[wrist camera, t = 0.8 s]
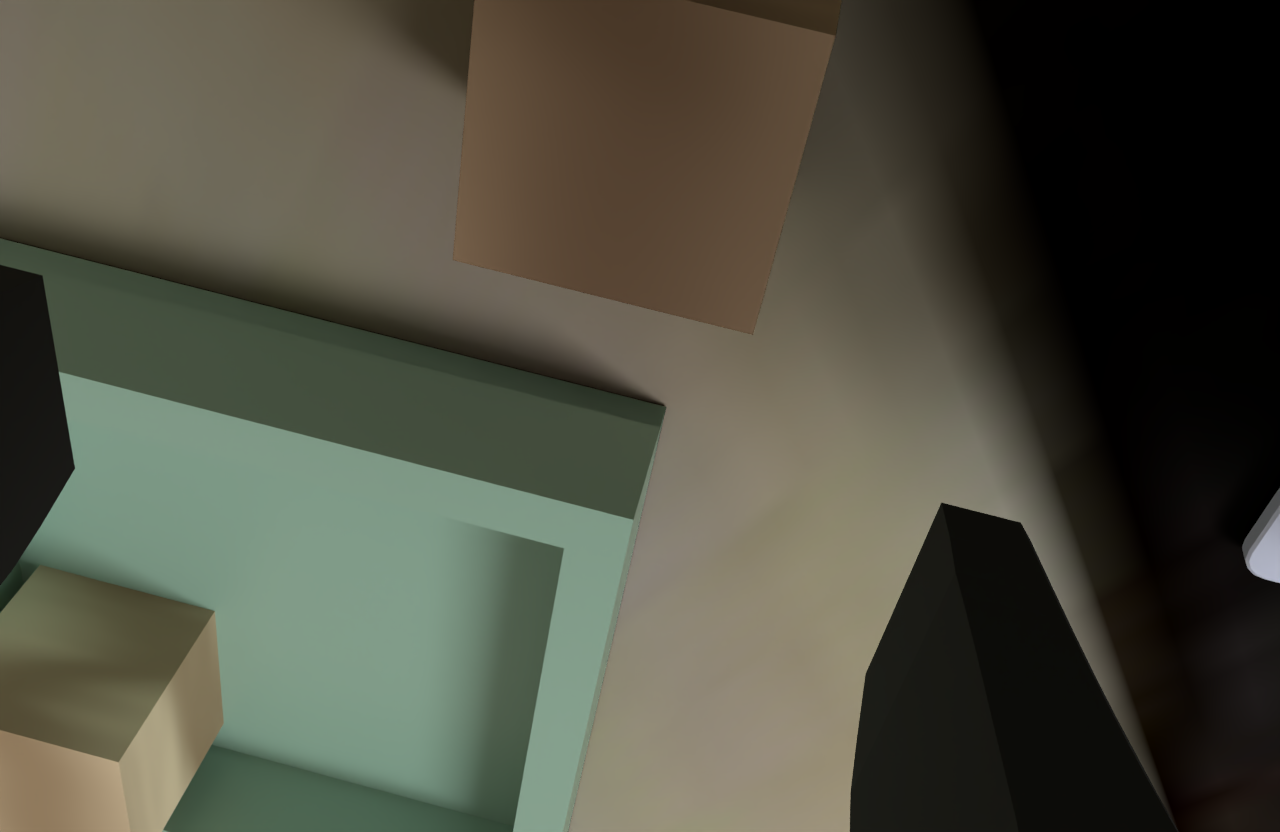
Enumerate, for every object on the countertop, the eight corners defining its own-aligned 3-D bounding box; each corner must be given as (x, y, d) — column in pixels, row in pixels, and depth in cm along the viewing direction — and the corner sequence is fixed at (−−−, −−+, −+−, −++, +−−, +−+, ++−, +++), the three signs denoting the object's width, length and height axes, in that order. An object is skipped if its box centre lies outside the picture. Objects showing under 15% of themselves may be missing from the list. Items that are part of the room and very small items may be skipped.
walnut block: (853, -71, 16) (835, 35, 13) (782, 192, 19) (753, 334, 16) (564, -139, 16) (477, -50, 13) (531, 131, 19) (452, 260, 16)
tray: (666, 406, 22) (632, 520, 19) (566, 841, 30) (534, 955, 28) (-83, 217, 22) (-202, 304, 20) (30, 696, 31) (-44, 796, 29)
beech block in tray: (215, 611, 26) (118, 761, 23) (223, 723, 29) (137, 873, 26) (39, 564, 27) (-79, 708, 24) (63, 680, 29) (-41, 823, 26)
